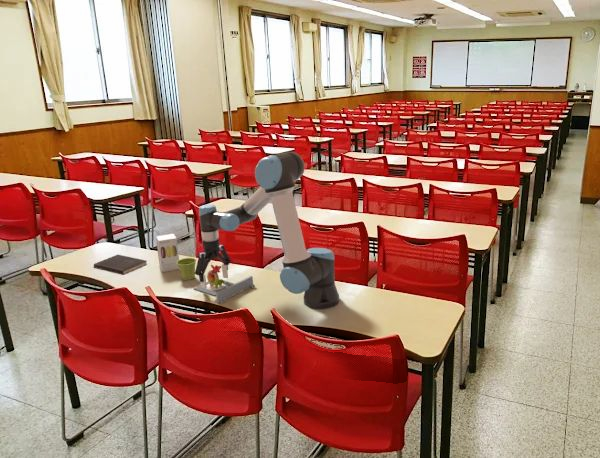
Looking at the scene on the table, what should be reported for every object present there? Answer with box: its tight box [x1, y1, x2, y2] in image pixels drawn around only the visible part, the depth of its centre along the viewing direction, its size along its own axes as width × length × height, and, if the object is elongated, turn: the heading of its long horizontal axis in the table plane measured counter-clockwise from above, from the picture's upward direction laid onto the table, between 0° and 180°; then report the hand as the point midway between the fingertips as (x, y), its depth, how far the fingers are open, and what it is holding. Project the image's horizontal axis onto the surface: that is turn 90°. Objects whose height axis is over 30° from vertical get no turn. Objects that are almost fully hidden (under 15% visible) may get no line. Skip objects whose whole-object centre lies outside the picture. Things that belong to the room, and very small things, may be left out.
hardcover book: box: [93, 254, 148, 275], centre depth 259 cm, size 16×23×2 cm
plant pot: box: [177, 257, 197, 281], centre depth 238 cm, size 9×9×9 cm
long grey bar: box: [215, 275, 255, 304], centre depth 219 cm, size 4×22×4 cm, turn 143°
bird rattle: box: [206, 264, 225, 289], centre depth 225 cm, size 6×11×9 cm
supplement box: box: [155, 233, 180, 273], centre depth 251 cm, size 10×9×17 cm
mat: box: [193, 278, 235, 297], centre depth 227 cm, size 14×14×1 cm
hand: (215, 282), depth 226 cm, fingers open, 13 cm apart
